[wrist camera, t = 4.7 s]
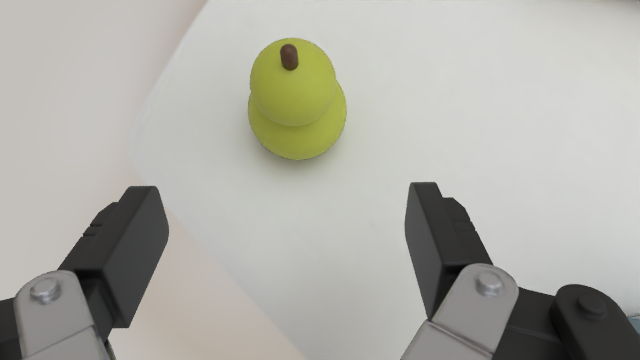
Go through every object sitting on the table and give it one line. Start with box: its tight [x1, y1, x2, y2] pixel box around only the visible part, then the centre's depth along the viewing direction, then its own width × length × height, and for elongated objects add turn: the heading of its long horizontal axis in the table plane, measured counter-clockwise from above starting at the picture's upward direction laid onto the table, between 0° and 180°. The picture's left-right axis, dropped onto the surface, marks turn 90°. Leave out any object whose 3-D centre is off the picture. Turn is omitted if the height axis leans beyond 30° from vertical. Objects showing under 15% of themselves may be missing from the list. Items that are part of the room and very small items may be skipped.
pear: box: [248, 38, 346, 160], centre depth 20 cm, size 5×5×9 cm
